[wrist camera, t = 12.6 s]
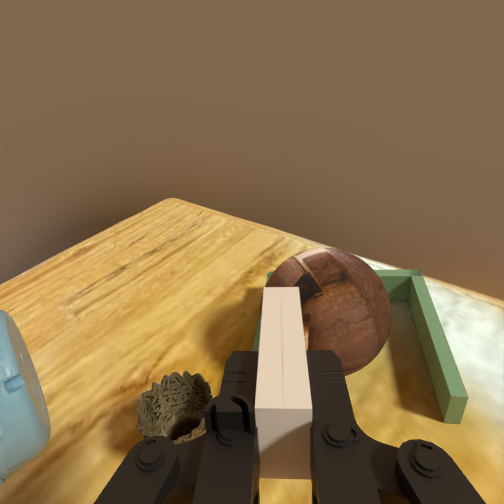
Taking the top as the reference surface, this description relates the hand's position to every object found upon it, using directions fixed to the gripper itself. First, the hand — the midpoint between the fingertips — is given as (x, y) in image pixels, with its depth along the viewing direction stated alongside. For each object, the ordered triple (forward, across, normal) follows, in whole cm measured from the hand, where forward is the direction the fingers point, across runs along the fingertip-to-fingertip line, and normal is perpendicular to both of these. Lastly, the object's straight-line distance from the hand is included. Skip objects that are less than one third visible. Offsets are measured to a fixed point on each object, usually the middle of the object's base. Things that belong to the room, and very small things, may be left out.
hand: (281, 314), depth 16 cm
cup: (+13, -10, -25) cm, 30 cm away
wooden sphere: (+25, +5, -22) cm, 33 cm away
